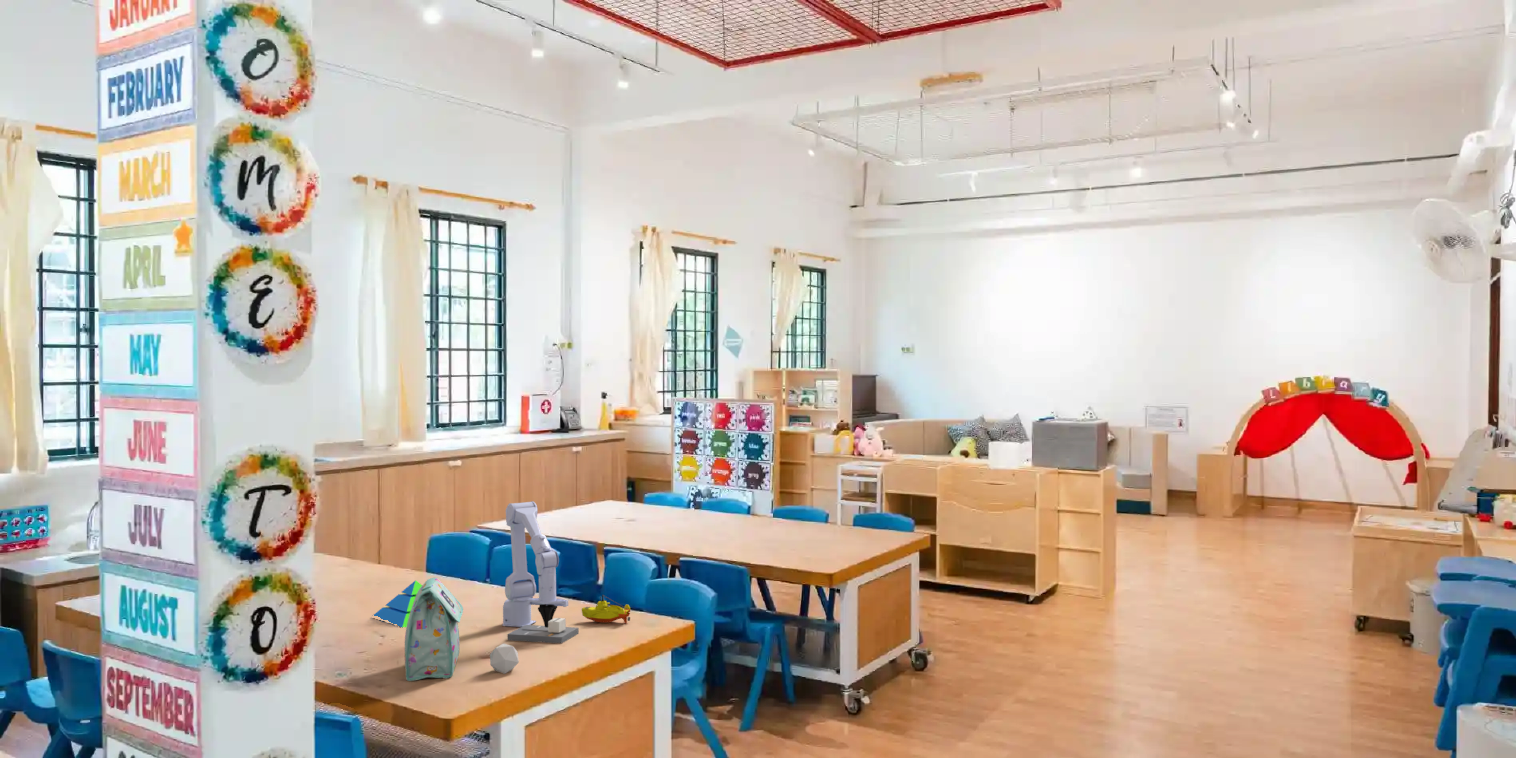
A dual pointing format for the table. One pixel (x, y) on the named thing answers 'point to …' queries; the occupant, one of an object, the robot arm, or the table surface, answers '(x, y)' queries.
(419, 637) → the lunch bag
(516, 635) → the console board
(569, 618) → the table surface
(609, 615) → the toy boat
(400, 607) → the pyramid toy
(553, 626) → the fader tab
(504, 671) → the die
